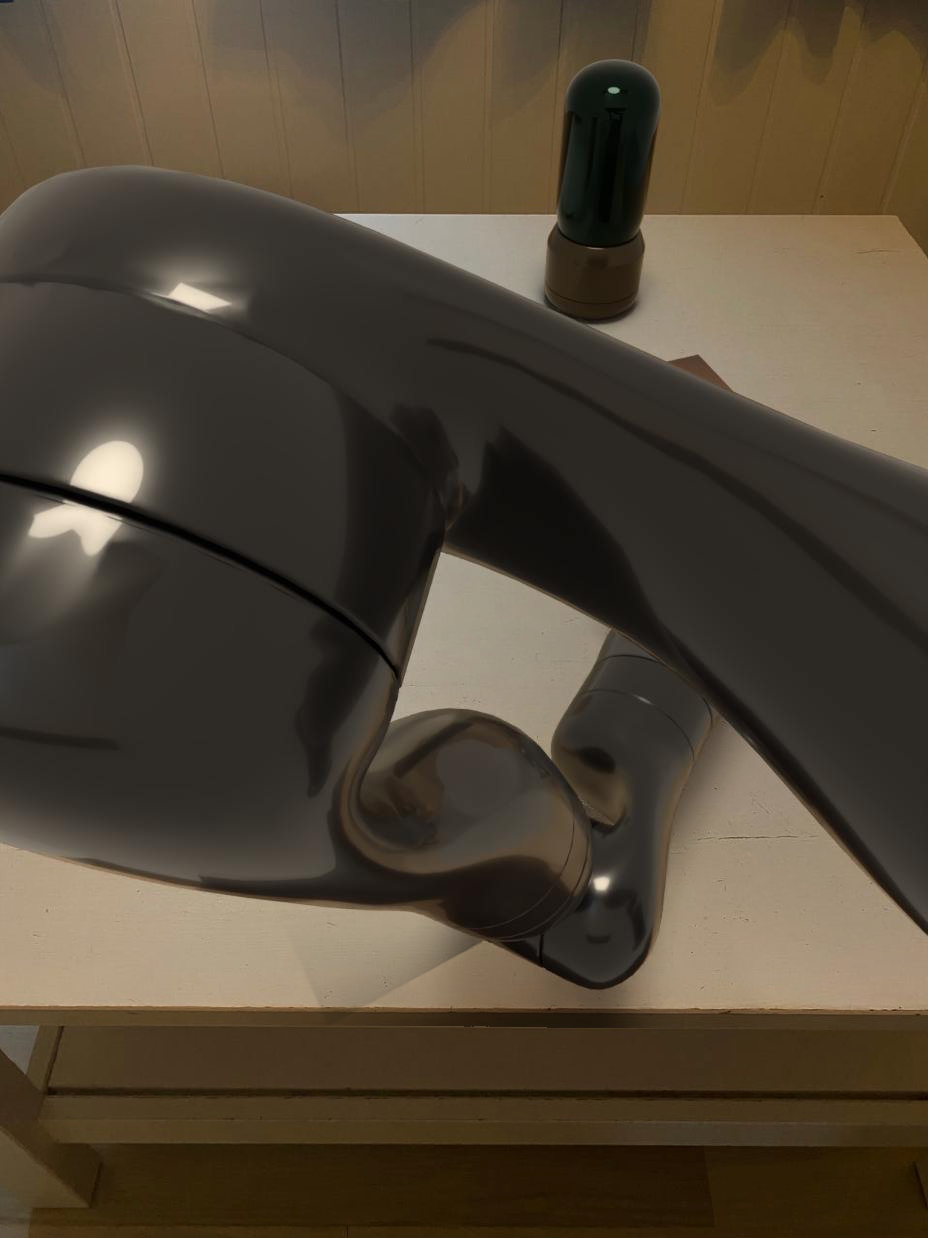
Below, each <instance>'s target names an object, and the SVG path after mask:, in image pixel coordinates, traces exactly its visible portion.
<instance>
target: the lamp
mask: <svg viewBox="0 0 928 1238" xmlns="http://www.w3.org/2000/svg"><path fill="white" fill-rule="evenodd" d="M662 99H663V98H662V92H661V89H660V86H659V83H658V81H657V79H656V77H655V76H654V75H653V74H652V73H651V72H650V70H648V69H647V68H645V67H644V66H642V65H640V64H638V63H636V62H634V61H630V60H625V59H617V58H616V59H615V58H611V59H604V60H599V61H595V62H592V63H590V64H589V65H586V66H584V67H583V68H582V69H581V70H579V71H577V73H576V74H575V76H573V78H572V79H571V81H570V83H569V85H568V86H567V89H566V93H565V96H564V103H563V113H562V114H563V115H562V126H561V137H560V138H561V139H560V140H561V141H560V151H559V164H558V174H557V175H558V177H557V188H556V200H555V201H556V203H555V206H556V207H555V210H556V222H555V224H554V226H553V227H552V229H551V230H550V232H549V234H548V237H547V240H546V250H545V252H546V254H545V264H544V265H545V266H544V278H543V287H544V289H543V290H544V292H545V295H546V298H547V299H548V301H549V302H550V303H551V304H552V306H553V307H555V308H556V309H557V310H559V311H561V312H562V313H563V314H567V315H569V316H571V317H576V318H579V319H585V320H586V319H587V320H600V319H607V318H612V317H615V316H617V315H619V314H622V313H623V312H625V311H626V310H628V309H629V308H630V307H631V306H632V305H633V304H634V302H635V301H636V299H637V297H638V294H639V290H640V285H641V279H642V278H641V277H642V272H643V267H644V259H645V253H646V241H645V239H644V235H643V232H642V229H641V225H642V222H643V220H644V216H645V213H646V208H647V202H648V201H647V200H648V195H649V189H650V182H651V175H652V168H653V164H654V163H653V162H654V157H655V150H656V143H657V137H658V132H659V131H658V130H659V123H660V118H661V111H662V101H663V100H662Z"/></svg>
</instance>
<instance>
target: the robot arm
mask: <svg viewBox="0 0 928 1238" xmlns="http://www.w3.org/2000/svg"><path fill="white" fill-rule="evenodd" d="M667 361H668V360H665V359H663V358H661V357H658V356H656V355H653V354H651V353H650V352H647V351H645V350H642V349H640V348H638V347H636V346H633V345H632V344H629V343H628V342H625V341H623V340H621V339H618V338H616V337H614V336H612V335H610V334H607V333H605V332H603V331H601V330H599V329H597V328H594V327H592V326H590V325H587V324H586V323H583V322H581V321H579V320H576V319H574V318H572V317H570V316H567V315H565V314H564V313H561V312H559V311H557V310H554V309H552V308H550V307H549V306H546V305H544V304H541V303H539V302H537V301H534V300H533V299H530V298H528V297H526V296H524V295H521V294H519V293H517V292H515V291H513V290H511V289H508V288H506V287H504V286H502V285H500V284H497V283H495V282H493V281H490V280H489V279H486V278H484V277H482V276H480V275H477V274H475V273H473V272H471V271H468V270H466V269H463V268H461V267H459V266H457V265H455V264H452V263H450V262H448V261H446V260H443V259H441V258H439V257H436V256H434V255H432V254H430V253H427V252H425V251H423V250H421V249H418V248H416V247H413V246H412V245H409V244H406V243H404V242H402V241H400V240H397V239H395V238H393V237H391V236H388V235H386V234H384V233H381V232H380V231H377V230H375V229H373V228H370V227H367V226H364V225H362V224H360V223H356V222H355V221H352V220H349V219H346V218H344V217H341V216H340V215H337V214H334V213H332V212H329V211H326V210H324V209H321V208H320V207H319V208H318V207H315V206H313V205H310V204H307V203H304V202H301V201H299V200H295V199H293V198H290V197H287V196H284V195H281V194H278V193H276V192H272V191H268V190H265V189H261V188H258V187H255V186H251V185H247V184H244V183H240V182H236V181H233V180H229V179H224V178H220V177H219V178H218V177H215V176H214V177H213V176H208V175H204V174H198V173H194V172H189V171H183V170H177V169H170V168H163V167H158V166H153V165H143V164H121V165H120V164H119V165H105V166H94V167H84V168H75V169H70V170H68V171H63V172H61V173H58V174H56V175H54V176H52V177H49V178H48V179H47V178H46V179H45V180H43V181H41V182H39V183H37V184H35V185H33V186H31V187H29V188H28V189H27V190H25V191H24V192H22V193H21V194H20V195H19V196H18V197H17V198H16V199H15V200H14V201H13V202H12V203H11V204H10V205H9V206H8V207H7V208H6V209H5V210H4V212H2V213H1V215H0V844H2V845H6V846H8V847H11V848H15V849H17V850H18V849H19V850H21V851H25V852H28V853H31V854H35V855H38V856H42V857H46V858H49V859H52V860H56V861H59V862H63V863H66V864H70V865H74V866H79V867H82V868H86V869H90V870H95V871H98V872H102V873H107V874H111V875H116V876H120V877H124V878H128V879H133V880H137V881H142V882H147V883H150V884H151V883H152V884H156V885H162V886H166V887H172V888H177V889H184V890H191V891H196V892H204V893H209V894H216V895H224V896H230V897H235V898H236V897H238V898H245V899H252V900H259V901H269V902H270V901H271V902H277V903H285V904H286V903H287V904H294V905H301V906H303V905H304V906H313V907H320V908H331V909H340V910H341V909H342V910H353V911H354V910H355V911H370V912H371V911H374V912H376V911H377V912H379V911H380V912H406V913H412V914H413V913H414V914H417V915H420V916H423V917H426V918H428V919H431V920H433V921H434V922H437V923H440V924H441V925H444V926H446V927H449V928H451V929H453V930H456V931H458V932H460V933H463V934H466V935H468V936H471V937H474V938H477V939H481V940H483V941H485V942H487V943H490V944H492V945H493V946H496V947H498V948H500V949H502V950H504V951H506V952H508V953H511V954H512V955H513V956H516V957H518V958H520V959H522V960H524V961H526V962H528V963H530V964H533V965H535V966H536V967H539V968H541V969H545V971H546V972H549V973H551V974H553V975H554V976H557V977H559V978H561V979H563V980H564V981H567V982H569V983H571V984H573V985H575V986H578V987H581V988H584V989H588V990H590V991H591V990H592V991H604V990H607V989H612V988H615V987H617V986H619V985H621V984H623V983H624V982H626V981H627V980H629V979H630V978H631V977H633V976H634V975H635V974H636V973H637V972H638V971H639V970H640V969H641V968H642V967H643V966H644V965H645V964H646V963H647V961H648V959H649V957H650V956H651V954H652V952H653V950H654V948H655V945H656V943H657V940H658V936H659V933H660V928H661V923H662V917H663V912H664V905H665V904H664V903H665V894H666V884H667V872H668V863H669V852H670V845H671V838H672V833H673V828H674V822H675V819H676V818H675V817H676V816H677V815H676V814H677V811H678V809H679V804H680V801H681V797H682V795H683V792H684V789H685V787H686V784H687V782H688V780H689V777H690V775H691V774H692V771H693V770H694V767H695V766H696V765H695V764H696V763H697V761H698V759H699V757H700V755H701V752H702V750H703V748H704V746H705V744H706V743H707V740H708V738H709V736H710V733H711V732H712V730H713V728H714V727H715V726H716V724H717V723H718V722H719V720H720V719H721V717H722V718H723V719H724V720H725V721H726V722H727V723H728V724H729V725H730V726H731V727H732V728H733V730H734V731H735V732H736V733H737V734H738V735H739V736H740V737H741V738H742V739H743V740H744V741H745V742H746V743H747V744H748V745H749V746H750V747H751V749H753V751H755V753H756V754H757V755H758V756H759V757H760V758H761V759H762V760H763V761H764V762H765V763H766V765H767V766H768V767H769V768H770V769H771V770H772V772H773V773H774V774H775V775H776V776H777V778H779V780H780V781H781V782H782V783H783V784H784V785H785V787H786V788H787V789H788V790H789V791H790V792H791V793H792V794H793V795H794V797H795V798H796V799H797V800H798V801H799V803H800V804H801V805H802V806H803V807H804V808H805V809H806V810H807V812H808V813H809V814H810V815H811V816H812V818H814V819H815V821H816V822H817V823H818V824H819V826H821V828H823V830H824V831H825V832H826V833H827V834H828V835H829V837H830V838H831V839H832V840H833V841H834V842H835V843H836V844H837V845H838V846H839V847H840V848H841V850H842V851H843V852H844V853H845V854H846V856H847V857H848V858H849V859H850V860H851V861H852V862H853V863H854V864H855V865H856V866H857V868H859V870H860V871H861V872H862V873H863V874H864V875H865V876H866V877H867V878H868V879H869V880H870V881H871V882H872V883H873V884H874V885H875V886H876V887H877V888H878V890H880V892H882V893H883V894H884V896H886V897H887V899H889V901H891V902H892V904H893V905H894V906H895V907H896V908H897V909H898V910H899V911H900V912H901V913H902V914H903V915H904V916H905V917H906V918H907V919H908V920H909V921H910V922H911V923H912V924H914V925H915V926H916V927H917V929H919V930H920V931H921V932H922V933H923V934H925V936H927V937H928V469H927V468H924V467H922V466H919V465H917V464H914V463H910V462H908V461H906V460H902V459H899V458H897V457H894V456H891V455H888V454H886V453H883V452H880V451H877V450H876V449H875V450H874V449H872V448H869V447H866V446H865V445H862V444H858V443H856V442H853V441H851V440H848V439H846V438H842V437H840V436H837V435H835V434H834V433H833V434H832V433H831V432H829V431H826V430H823V429H821V428H818V427H816V426H813V425H811V424H809V423H807V422H804V421H802V420H800V419H797V418H795V417H792V416H790V415H788V414H785V413H783V412H781V411H779V410H777V409H774V408H772V407H770V406H767V405H765V404H763V403H761V402H759V401H756V400H754V399H751V398H750V397H747V396H744V395H742V394H740V393H738V392H736V391H734V390H733V391H731V390H729V389H727V388H725V387H722V386H720V385H718V384H716V383H714V382H711V381H709V380H707V379H705V378H702V377H700V376H698V375H696V374H694V373H691V372H689V371H687V370H685V369H682V368H680V367H678V366H676V365H674V364H671V363H669V362H667ZM441 553H443V554H446V555H450V556H452V557H456V558H458V559H461V560H464V561H466V562H469V563H472V564H475V565H478V566H480V567H482V568H485V569H487V570H490V571H492V572H495V573H497V574H500V575H502V576H504V577H507V578H510V579H511V580H514V581H516V582H519V583H520V584H523V585H525V586H527V587H530V588H531V589H533V590H534V591H537V592H539V593H541V594H543V595H545V596H548V597H549V598H552V599H554V600H556V601H558V602H559V603H562V604H564V605H565V606H568V607H569V608H571V609H573V610H575V611H577V612H578V613H580V614H582V615H584V616H586V617H588V618H590V619H592V620H593V621H595V622H597V623H599V624H601V625H603V626H605V627H607V628H608V629H609V632H608V634H607V635H606V637H605V639H604V641H603V643H602V645H601V648H600V650H599V652H598V654H597V658H596V660H595V663H594V664H593V666H592V668H591V670H590V672H589V673H588V674H587V676H586V678H585V679H584V681H583V683H582V684H581V686H580V688H578V691H577V692H576V694H575V696H574V697H573V699H572V700H571V702H570V704H569V705H568V706H567V708H566V710H565V711H564V712H563V715H562V717H561V718H560V719H559V722H558V724H557V725H556V727H555V730H554V732H553V735H552V738H551V742H550V756H549V755H548V754H547V752H546V751H545V750H544V749H543V748H542V746H541V745H539V744H538V743H537V742H536V741H535V740H534V739H533V738H532V737H530V736H529V735H528V734H527V733H526V732H524V731H523V729H520V728H519V727H517V726H516V725H514V724H512V723H510V722H508V721H506V720H504V719H502V718H500V717H499V716H496V715H495V714H491V713H488V712H483V711H480V710H475V709H469V708H455V707H446V708H436V709H431V710H429V709H428V710H422V711H419V712H416V713H415V712H414V713H412V714H409V715H406V716H403V717H401V718H398V719H395V720H392V719H393V715H394V713H395V709H396V705H397V702H398V700H399V693H400V689H401V688H402V686H403V684H404V679H405V676H406V673H407V669H408V666H409V662H410V659H411V656H412V652H413V649H414V646H415V642H416V638H417V636H418V632H419V628H420V625H421V621H422V619H423V615H424V611H425V608H426V604H427V601H428V598H429V594H430V591H431V587H432V584H433V580H434V577H435V575H436V574H435V573H436V570H437V568H438V564H439V560H440V556H441ZM582 800H583V801H584V802H585V803H587V804H588V805H589V806H591V807H593V808H594V809H595V810H597V811H598V812H599V813H601V814H602V815H604V816H605V817H606V818H607V819H608V820H609V821H610V822H612V824H609V823H606V822H602V821H600V820H598V819H595V818H593V817H591V816H589V814H588V812H587V810H586V807H585V806H584V804H583V802H582Z"/></svg>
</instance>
